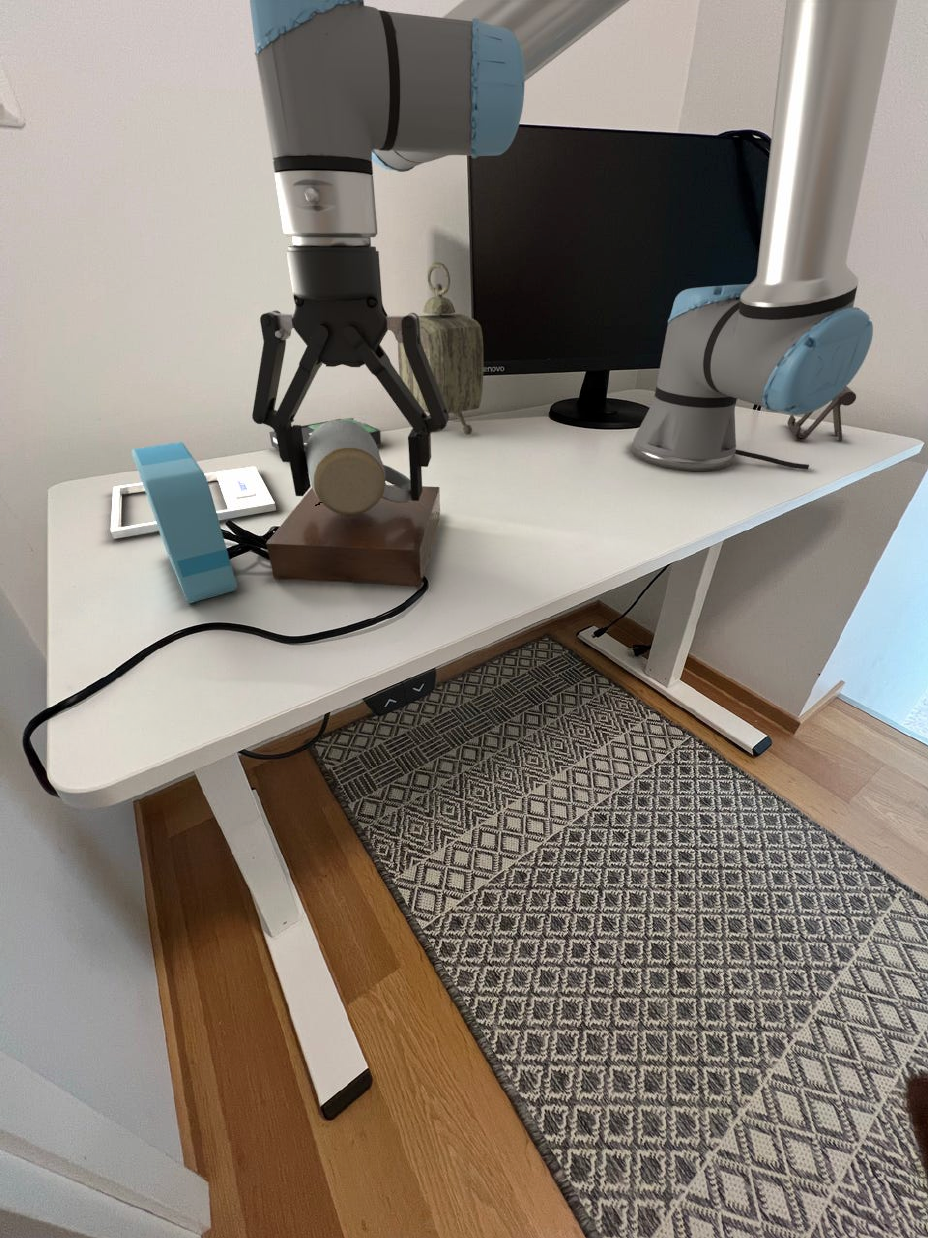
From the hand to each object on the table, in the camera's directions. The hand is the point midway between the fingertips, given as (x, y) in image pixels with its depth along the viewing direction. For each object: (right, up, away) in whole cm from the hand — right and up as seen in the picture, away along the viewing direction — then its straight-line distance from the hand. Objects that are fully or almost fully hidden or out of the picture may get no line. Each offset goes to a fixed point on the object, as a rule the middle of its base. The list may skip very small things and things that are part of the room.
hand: (359, 493), depth 57 cm
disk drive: (-11, +15, +31) cm, 36 cm away
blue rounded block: (-16, -9, -2) cm, 18 cm away
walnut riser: (0, -5, +3) cm, 6 cm away
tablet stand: (+73, +19, +38) cm, 84 cm away
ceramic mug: (0, -1, +1) cm, 1 cm away
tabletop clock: (+7, +21, +40) cm, 46 cm away
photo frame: (-24, +2, +13) cm, 27 cm away
